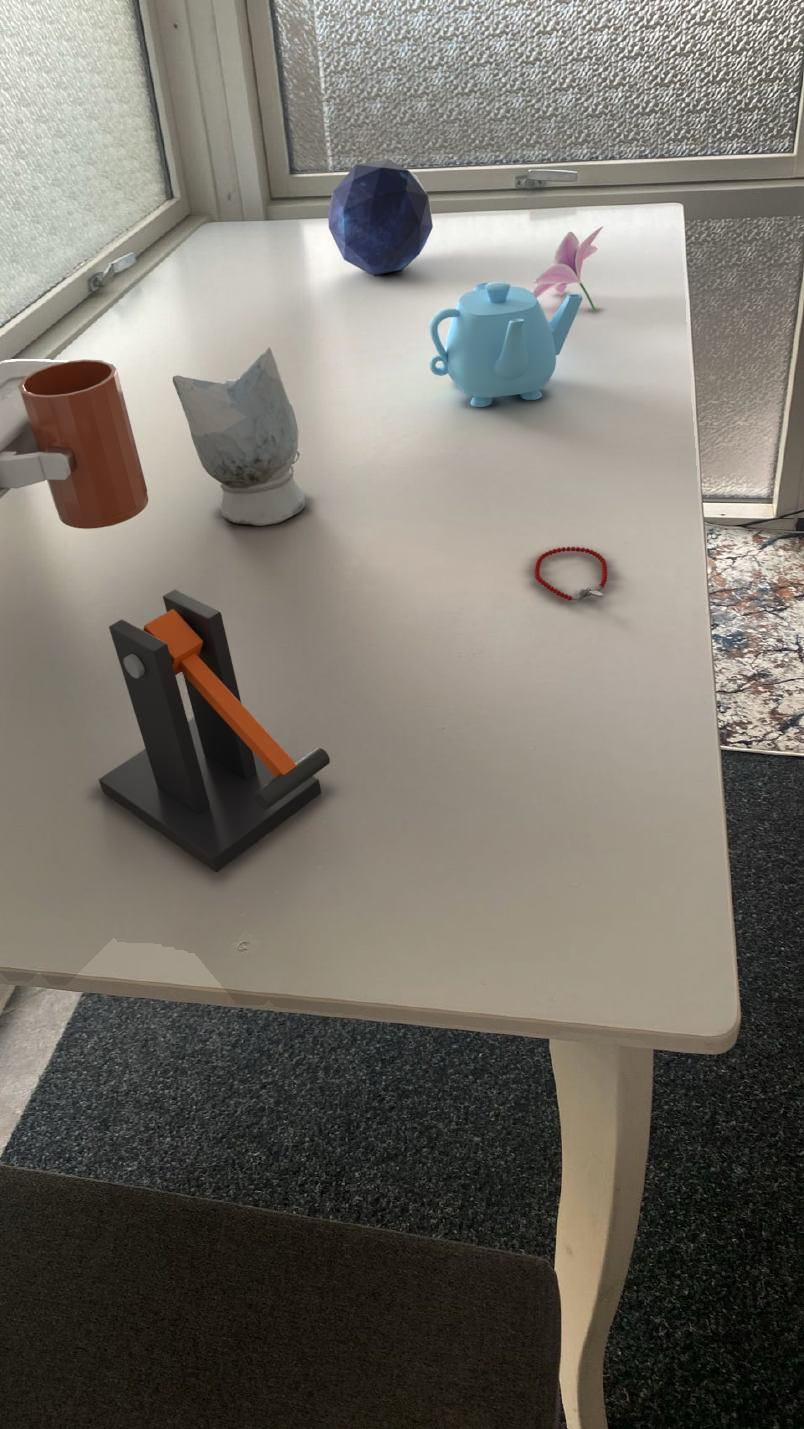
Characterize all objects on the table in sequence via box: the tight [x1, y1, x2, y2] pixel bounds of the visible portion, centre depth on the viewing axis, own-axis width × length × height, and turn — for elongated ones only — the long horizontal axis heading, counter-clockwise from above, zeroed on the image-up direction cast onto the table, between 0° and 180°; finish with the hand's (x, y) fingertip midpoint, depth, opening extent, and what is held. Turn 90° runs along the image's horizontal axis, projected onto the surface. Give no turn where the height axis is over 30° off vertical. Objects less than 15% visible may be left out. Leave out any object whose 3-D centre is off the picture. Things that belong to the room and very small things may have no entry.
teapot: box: [429, 281, 583, 408], centre depth 119 cm, size 15×14×11 cm
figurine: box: [172, 346, 306, 527], centre depth 101 cm, size 10×9×15 cm
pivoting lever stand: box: [98, 588, 322, 873], centre depth 70 cm, size 12×9×14 cm
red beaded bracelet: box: [534, 546, 608, 602], centre depth 90 cm, size 9×6×1 cm
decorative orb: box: [327, 158, 434, 276], centre depth 155 cm, size 14×15×15 cm
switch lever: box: [142, 609, 331, 810], centre depth 66 cm, size 13×5×2 cm
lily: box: [532, 226, 604, 311], centre depth 139 cm, size 12×12×10 cm
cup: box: [18, 359, 149, 530], centre depth 81 cm, size 7×7×10 cm
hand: (96, 438), depth 80 cm, fingers closed on cup, 7 cm apart
